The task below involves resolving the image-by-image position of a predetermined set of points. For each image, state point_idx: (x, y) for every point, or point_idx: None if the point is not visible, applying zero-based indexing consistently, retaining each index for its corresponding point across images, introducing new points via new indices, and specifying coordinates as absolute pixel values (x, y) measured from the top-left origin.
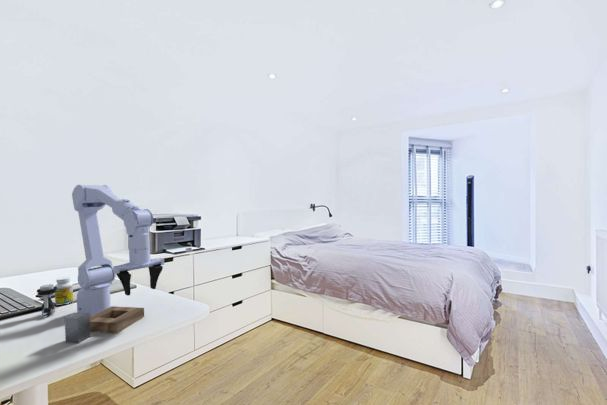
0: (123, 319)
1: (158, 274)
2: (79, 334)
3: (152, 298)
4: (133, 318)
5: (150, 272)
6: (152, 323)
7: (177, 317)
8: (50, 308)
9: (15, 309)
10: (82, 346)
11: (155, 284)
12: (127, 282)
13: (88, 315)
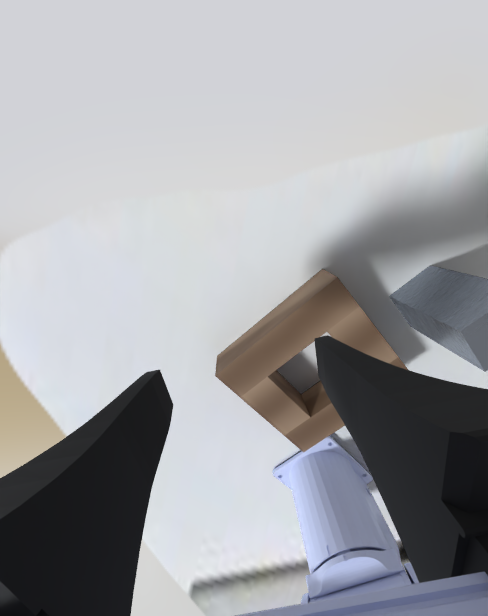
0: (306, 301)
1: (47, 455)
2: (448, 274)
3: (165, 490)
4: (260, 328)
5: (128, 540)
6: (204, 275)
7: (109, 272)
8: None
9: None
10: (430, 231)
11: (133, 387)
12: (398, 379)
13: (457, 322)
